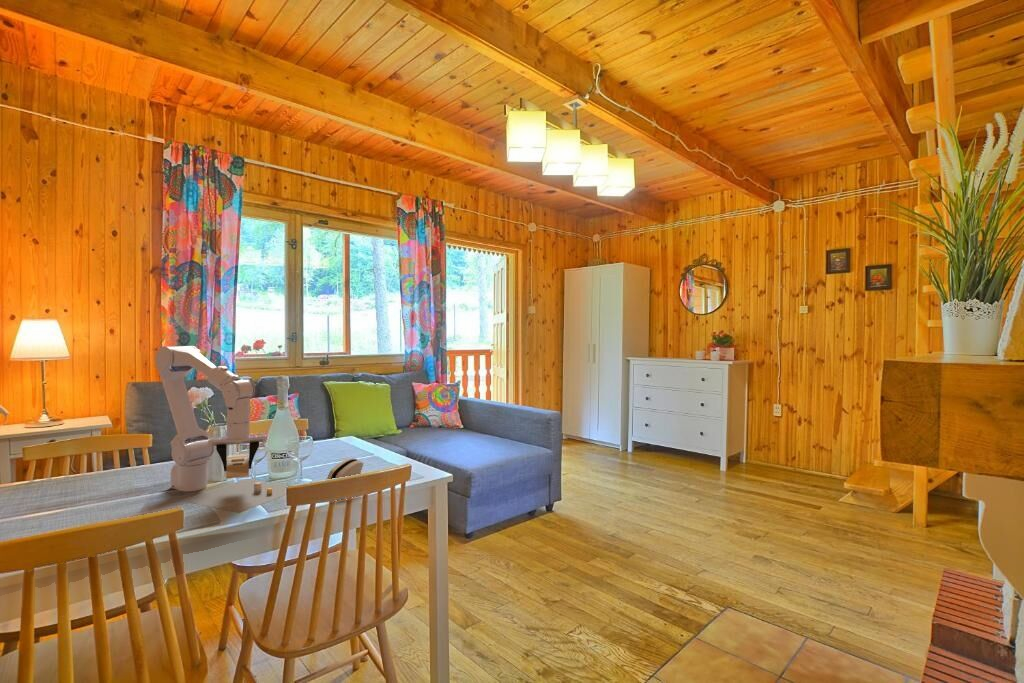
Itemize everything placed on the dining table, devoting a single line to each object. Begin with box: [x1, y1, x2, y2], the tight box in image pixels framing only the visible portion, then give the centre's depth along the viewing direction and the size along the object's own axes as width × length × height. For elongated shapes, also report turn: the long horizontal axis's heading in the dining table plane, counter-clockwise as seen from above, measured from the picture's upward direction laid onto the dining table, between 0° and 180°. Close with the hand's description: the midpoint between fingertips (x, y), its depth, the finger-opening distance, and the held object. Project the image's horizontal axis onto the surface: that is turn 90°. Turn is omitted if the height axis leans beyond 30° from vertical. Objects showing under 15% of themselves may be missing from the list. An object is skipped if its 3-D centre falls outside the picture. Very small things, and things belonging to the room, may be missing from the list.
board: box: [179, 478, 288, 514], centre depth 143 cm, size 22×22×4 cm
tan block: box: [225, 453, 250, 479], centre depth 142 cm, size 14×5×3 cm, turn 29°
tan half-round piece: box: [325, 457, 364, 481], centre depth 156 cm, size 17×5×10 cm, turn 170°
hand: (237, 469), depth 142 cm, fingers closed on tan block, 5 cm apart
